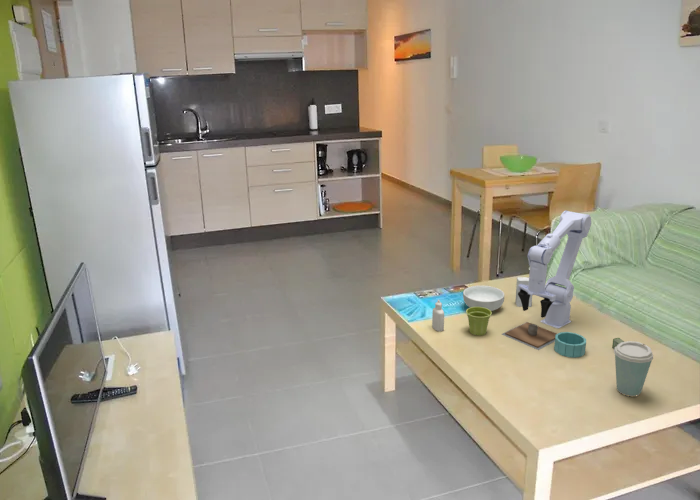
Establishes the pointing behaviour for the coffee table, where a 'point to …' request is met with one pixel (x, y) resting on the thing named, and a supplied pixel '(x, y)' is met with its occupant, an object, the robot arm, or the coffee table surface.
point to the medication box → (616, 342)
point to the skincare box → (519, 281)
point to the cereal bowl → (483, 297)
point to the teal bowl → (570, 344)
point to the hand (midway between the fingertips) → (534, 313)
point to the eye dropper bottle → (438, 317)
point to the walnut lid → (532, 334)
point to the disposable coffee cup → (632, 366)
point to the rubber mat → (526, 343)
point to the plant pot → (478, 320)
